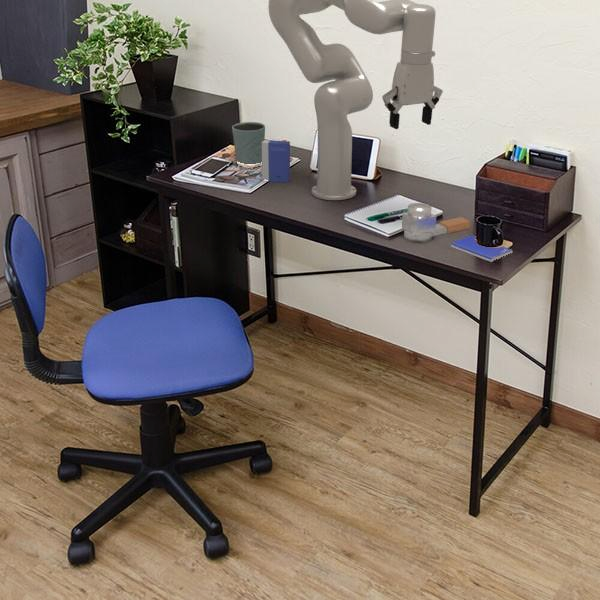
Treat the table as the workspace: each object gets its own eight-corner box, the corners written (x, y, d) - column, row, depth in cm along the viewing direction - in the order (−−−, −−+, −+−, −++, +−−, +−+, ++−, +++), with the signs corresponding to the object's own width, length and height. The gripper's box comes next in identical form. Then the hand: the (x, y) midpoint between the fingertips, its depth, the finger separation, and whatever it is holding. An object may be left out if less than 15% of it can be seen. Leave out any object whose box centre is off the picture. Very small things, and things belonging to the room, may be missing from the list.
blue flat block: (512, 249, 223) (472, 234, 232) (491, 257, 218) (451, 242, 227) (512, 255, 224) (472, 240, 232) (490, 264, 219) (450, 248, 228)
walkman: (290, 179, 273) (289, 140, 268) (288, 182, 270) (287, 142, 265) (264, 178, 274) (263, 138, 269) (262, 181, 272) (261, 141, 267)
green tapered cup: (265, 169, 282) (264, 130, 277) (232, 169, 282) (231, 130, 276) (266, 158, 291) (265, 121, 286) (233, 159, 291) (232, 121, 286)
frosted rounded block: (401, 227, 233) (402, 205, 231) (421, 223, 236) (422, 201, 233) (415, 235, 228) (417, 212, 226) (435, 231, 231) (436, 208, 228)
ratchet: (456, 222, 242) (458, 204, 240) (473, 230, 237) (475, 212, 235) (398, 234, 234) (399, 216, 232) (414, 244, 229) (415, 225, 226)
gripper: (436, 51, 233) (429, 117, 241) (377, 57, 226) (373, 125, 234) (453, 58, 227) (446, 125, 235) (394, 64, 220) (389, 133, 228)
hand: (410, 125), depth 234 cm, fingers open, 9 cm apart
